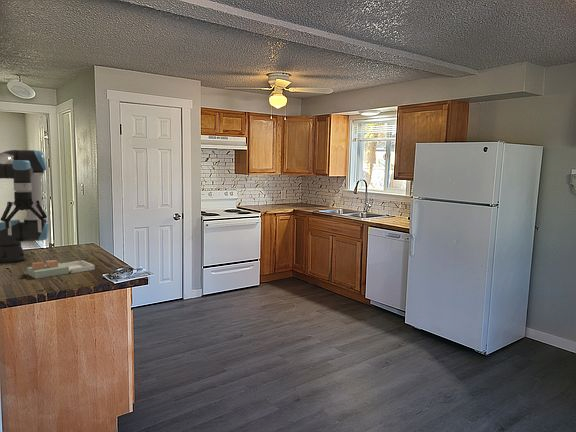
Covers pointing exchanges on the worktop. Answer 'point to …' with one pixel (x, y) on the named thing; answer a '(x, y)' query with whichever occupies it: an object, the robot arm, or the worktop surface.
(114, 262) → the worktop surface
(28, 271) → the board
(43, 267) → the tile near
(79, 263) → the tray
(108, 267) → the worktop surface
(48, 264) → the tile far
